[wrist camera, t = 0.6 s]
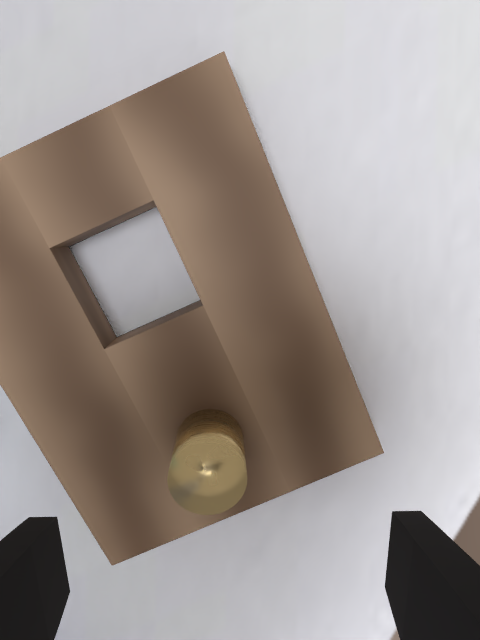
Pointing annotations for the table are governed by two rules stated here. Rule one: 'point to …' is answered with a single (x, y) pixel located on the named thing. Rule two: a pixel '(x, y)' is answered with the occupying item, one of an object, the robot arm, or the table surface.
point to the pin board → (171, 321)
